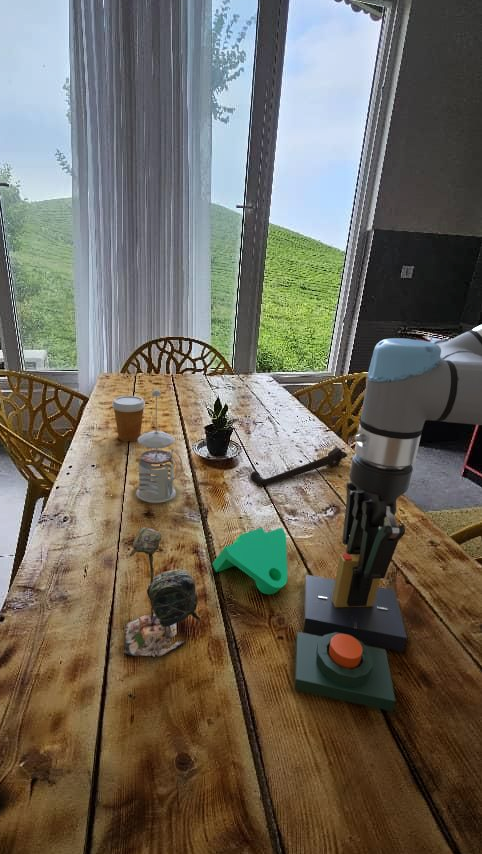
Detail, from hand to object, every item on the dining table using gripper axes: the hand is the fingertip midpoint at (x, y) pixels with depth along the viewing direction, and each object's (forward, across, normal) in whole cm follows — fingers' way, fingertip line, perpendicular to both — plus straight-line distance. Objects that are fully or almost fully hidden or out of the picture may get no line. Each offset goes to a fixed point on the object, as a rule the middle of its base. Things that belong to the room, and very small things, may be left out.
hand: (353, 598), depth 68 cm
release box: (+4, +10, -5) cm, 12 cm away
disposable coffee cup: (+4, -73, -38) cm, 83 cm away
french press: (+4, -39, -30) cm, 49 cm away
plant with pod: (+4, +2, -29) cm, 29 cm away
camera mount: (-1, -14, -15) cm, 20 cm away
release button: (0, +10, -5) cm, 11 cm away
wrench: (+4, -51, +7) cm, 52 cm away
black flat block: (+4, 0, 0) cm, 4 cm away
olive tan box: (+1, 0, 0) cm, 1 cm away
